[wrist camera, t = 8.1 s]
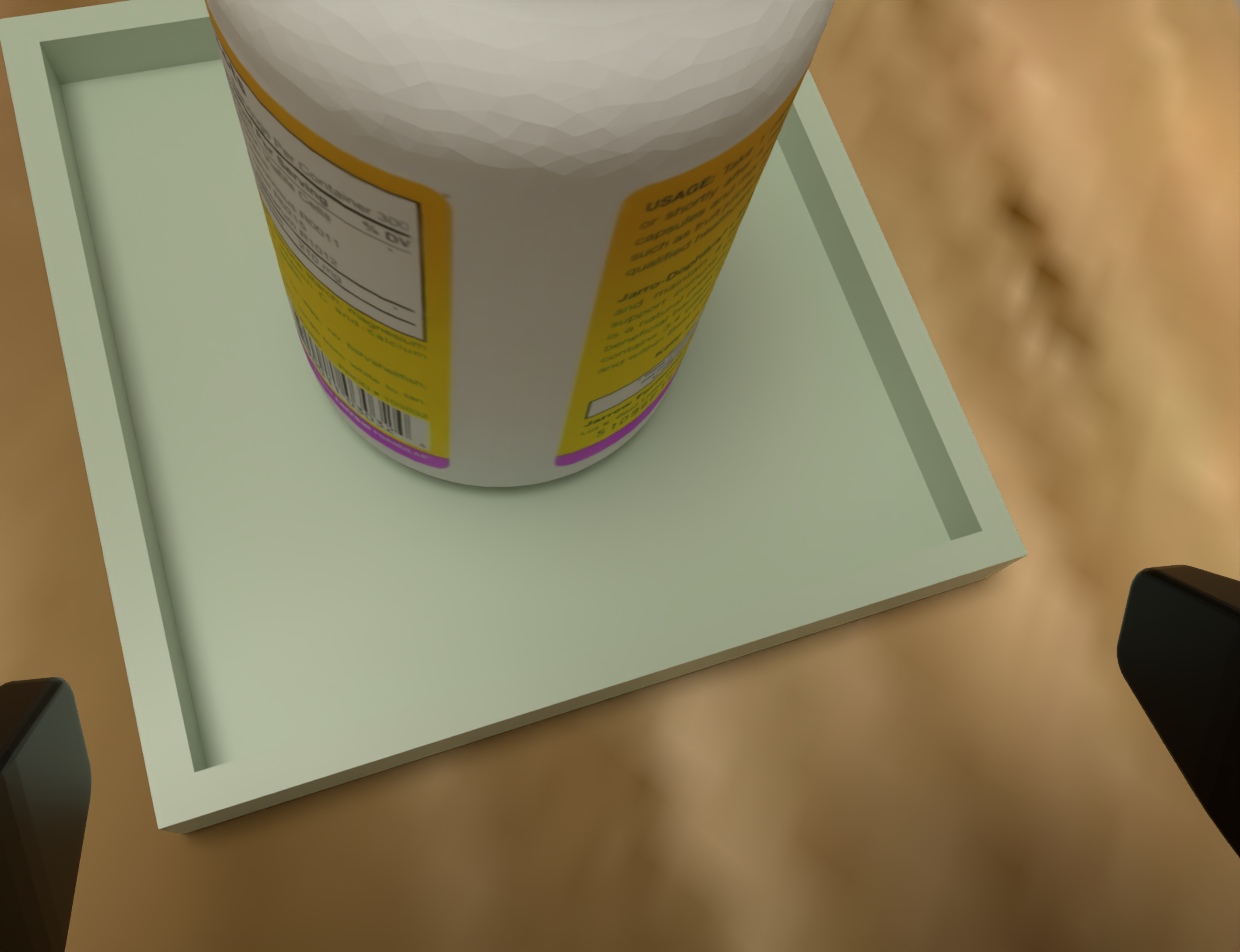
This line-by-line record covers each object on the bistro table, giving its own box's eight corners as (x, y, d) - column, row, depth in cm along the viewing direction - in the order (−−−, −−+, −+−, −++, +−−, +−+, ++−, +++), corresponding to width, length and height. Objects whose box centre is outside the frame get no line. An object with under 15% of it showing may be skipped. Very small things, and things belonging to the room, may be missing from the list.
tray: (720, -27, 24) (738, -87, 23) (984, 578, 20) (1027, 554, 19) (28, 81, 21) (-4, 19, 19) (183, 834, 17) (158, 829, 15)
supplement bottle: (675, 182, 21) (965, -701, 10) (680, 509, 19) (1069, -114, 7) (318, 149, 21) (144, -873, 9) (277, 488, 18) (-36, -266, 6)
